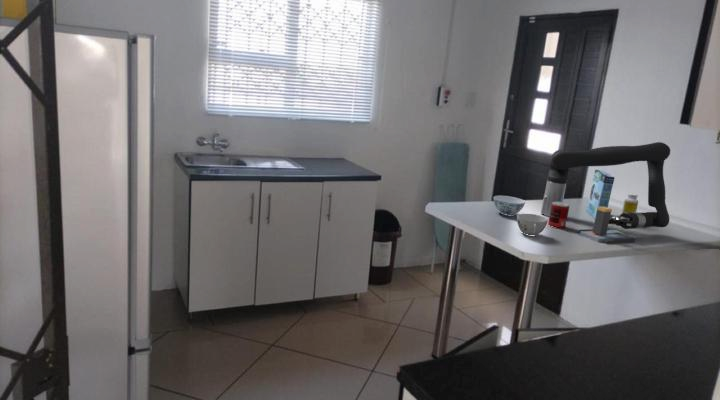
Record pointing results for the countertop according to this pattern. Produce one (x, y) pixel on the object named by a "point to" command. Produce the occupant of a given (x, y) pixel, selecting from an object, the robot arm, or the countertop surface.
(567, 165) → the robot arm
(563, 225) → the canned food
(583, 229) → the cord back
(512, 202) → the chinaware
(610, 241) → the dark grey long bar
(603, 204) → the gum box
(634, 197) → the supplement bottle
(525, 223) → the teacup
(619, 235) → the blue rectangular board
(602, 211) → the block
